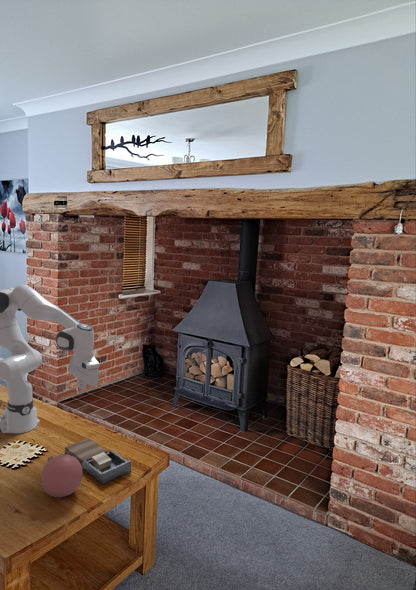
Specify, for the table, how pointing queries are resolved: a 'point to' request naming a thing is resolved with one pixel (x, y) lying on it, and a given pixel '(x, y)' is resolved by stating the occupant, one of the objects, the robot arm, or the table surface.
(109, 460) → the block
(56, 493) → the balloon
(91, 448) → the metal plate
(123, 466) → the box
